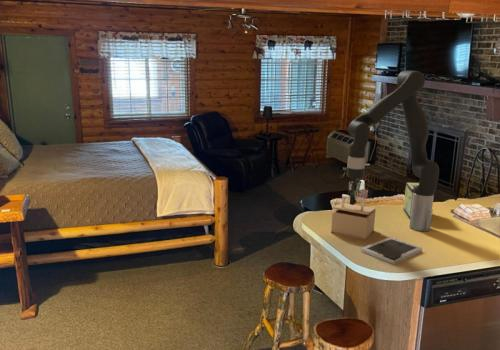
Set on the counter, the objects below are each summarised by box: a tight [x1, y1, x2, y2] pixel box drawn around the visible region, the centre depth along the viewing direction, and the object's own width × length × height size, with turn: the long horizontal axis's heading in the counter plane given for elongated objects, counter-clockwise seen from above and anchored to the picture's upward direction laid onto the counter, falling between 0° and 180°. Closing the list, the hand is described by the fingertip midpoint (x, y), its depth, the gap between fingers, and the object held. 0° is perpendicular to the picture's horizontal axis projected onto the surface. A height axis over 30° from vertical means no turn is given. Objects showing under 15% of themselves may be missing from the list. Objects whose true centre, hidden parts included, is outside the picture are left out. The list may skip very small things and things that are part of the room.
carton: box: [330, 209, 377, 241], centre depth 220 cm, size 16×14×10 cm
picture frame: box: [360, 236, 423, 265], centre depth 199 cm, size 16×3×21 cm
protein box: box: [403, 181, 419, 220], centre depth 245 cm, size 10×16×16 cm
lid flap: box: [332, 193, 377, 215], centre depth 218 cm, size 16×14×7 cm
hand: (352, 203), depth 215 cm, fingers closed on lid flap
